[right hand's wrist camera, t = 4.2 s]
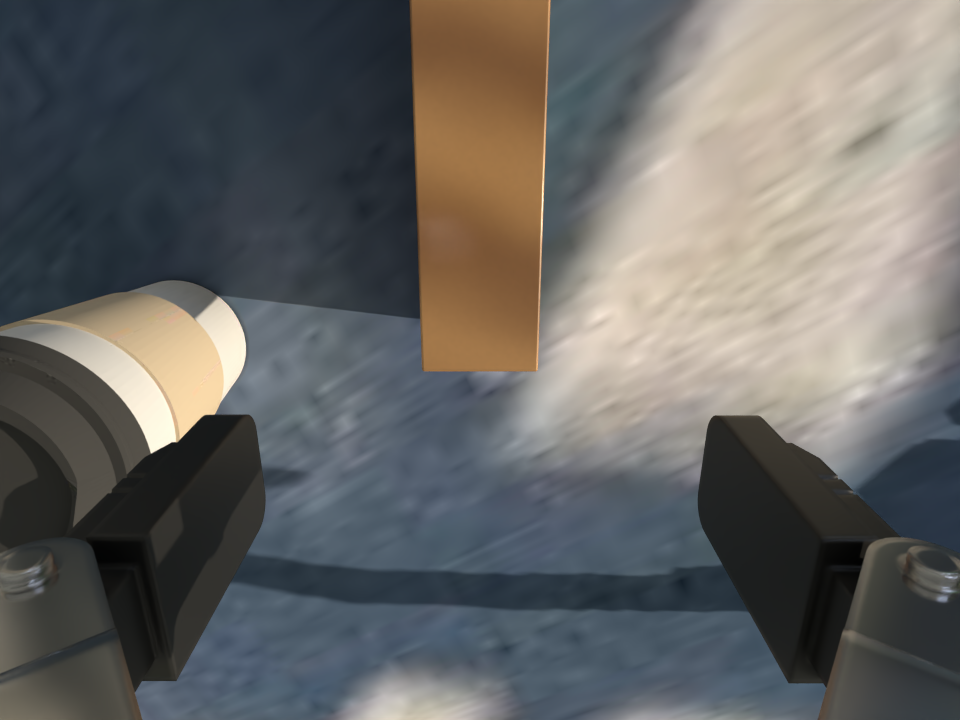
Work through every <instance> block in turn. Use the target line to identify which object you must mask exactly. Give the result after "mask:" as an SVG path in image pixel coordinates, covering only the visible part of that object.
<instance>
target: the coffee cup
mask: <svg viewBox="0 0 960 720" xmlns="http://www.w3.org/2000/svg"><path fill="white" fill-rule="evenodd" d="M245 356H246V343H245V337H244V333H243V330H242V327H241V325H240V323H239V321H238V319H237V317H236V315H235V314H234V312H233V311H232V310H231V308H230V307H229V306H228V305H227V304H226V303H225V302H224V301H223V300H222V299H221V298H220V297H218V296H217V295H216V294H214V293H213V292H211V291H209V290H208V289H206V288H204V287H202V286H199V285H197V284H194V283H190V282H185V281H177V280H170V281H161V282H157V283H154V284H151V285H147V286H144V287H141V288H138V289H135V290H131V291H128V292H120V293H113V294H109V295H105V296H102V297H98V298H95V299H92V300H88V301H85V302H82V303H78V304H75V305H71V306H68V307H65V308H61V309H58V310H54V311H51V312H48V313H44V314H41V315H38V316H34V317H31V318H27V319H24V320H21V321H17V322H14V323H11V324H7V325H4V326H2V327H0V553H2V552H5V551H7V550H9V549H12V548H14V547H17V546H20V545H23V544H26V543H30V542H33V541H37V540H42V539H48V538H57V537H64V536H65V535H66V534H67V533H68V532H69V531H70V530H71V529H72V528H73V527H74V526H75V525H76V524H77V523H78V522H79V521H80V520H81V519H82V518H83V517H84V516H85V515H86V514H87V513H88V512H89V511H90V510H91V509H92V508H93V507H94V506H95V505H96V504H97V503H98V502H99V501H100V500H101V499H102V498H103V497H104V496H105V495H106V494H108V493H112V489H113V488H114V487H115V486H116V485H117V484H118V483H119V482H120V481H121V480H122V479H123V478H127V474H128V473H129V472H130V471H131V470H132V469H133V468H134V467H135V466H136V465H137V464H138V463H139V462H140V461H141V460H142V459H143V458H144V457H146V456H148V455H149V454H151V453H153V452H155V451H157V450H159V449H160V448H162V447H164V446H166V445H168V444H170V443H171V442H178V441H179V440H180V439H181V438H182V437H183V436H184V435H185V434H186V433H187V432H188V431H189V430H190V429H191V428H192V427H193V425H194V424H195V423H196V422H197V421H198V420H199V419H200V418H201V417H202V416H204V415H214V414H215V413H216V411H217V409H218V407H219V404H220V402H221V401H222V399H223V398H224V397H225V395H226V394H227V392H228V391H229V390H230V388H231V387H232V385H233V384H234V383H235V381H236V380H237V378H238V377H239V375H240V373H241V371H242V369H243V366H244V362H245Z"/></svg>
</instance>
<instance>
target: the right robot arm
mask: <svg viewBox="0 0 960 720" xmlns="http://www.w3.org/2000/svg"><path fill="white" fill-rule="evenodd" d="M698 511H699V517H700V522H701V525H702V528H703V530H704V532H705V534H706V535H707V537H708V539H709V541H710V543H711V544H712V546H713V548H714V550H715V552H716V553H717V555H718V557H719V559H720V561H721V562H722V564H723V566H724V568H725V570H726V571H727V573H728V575H729V577H730V579H731V580H732V582H733V584H734V586H735V588H736V589H737V591H738V593H739V595H740V597H741V598H742V600H743V602H744V604H745V606H746V607H747V609H748V611H749V613H750V615H751V616H752V618H753V620H754V622H755V624H756V625H757V627H758V629H759V631H760V633H761V634H762V636H763V638H764V640H765V641H766V643H767V645H768V647H769V649H770V650H771V652H772V654H773V656H774V658H775V659H776V661H777V663H778V665H779V667H780V668H781V670H782V672H783V674H784V676H785V677H786V679H787V681H788V683H824V685H825V687H826V688H827V689H826V692H825V696H824V699H823V703H822V706H821V710H820V713H819V717H818V720H960V553H958V552H955V551H953V550H951V549H948V548H946V547H943V546H940V545H937V544H934V543H930V542H927V541H923V540H918V539H912V538H903V537H900V536H899V535H898V534H897V533H896V532H895V531H894V530H893V529H892V528H891V527H890V526H889V525H888V524H887V523H886V522H885V521H884V520H883V519H882V518H881V517H880V516H879V515H877V514H876V513H875V512H874V511H873V510H872V509H871V508H870V507H869V506H868V505H867V504H866V503H865V502H864V501H863V500H862V499H861V498H860V497H859V496H858V495H853V490H852V489H851V488H850V487H849V486H848V485H847V484H846V483H845V482H844V481H842V480H841V479H838V476H837V475H836V474H835V473H834V472H833V471H832V470H831V469H830V468H829V467H828V466H827V465H826V464H825V463H824V462H823V461H822V460H821V459H820V458H818V457H816V456H815V455H813V454H811V453H809V452H807V451H805V450H804V449H802V448H800V447H798V446H796V445H794V444H793V443H786V442H785V441H784V440H783V439H782V438H781V437H780V436H779V435H778V434H777V433H776V432H775V431H774V430H773V429H772V428H771V426H770V425H769V424H768V423H767V422H766V421H765V420H764V419H763V418H761V417H760V416H713V417H712V418H711V420H710V422H709V424H708V428H707V434H706V441H705V448H704V456H703V463H702V470H701V477H700V484H699V491H698ZM264 512H265V488H264V481H263V473H262V466H261V459H260V452H259V445H258V437H257V430H256V425H255V422H254V420H253V418H252V417H251V416H250V415H204V416H202V417H201V418H200V419H199V420H198V421H197V422H196V423H195V424H194V425H193V427H192V428H191V429H190V430H189V431H188V432H187V433H186V434H185V435H184V436H183V437H182V438H181V439H180V440H179V441H178V442H171V443H170V444H168V445H166V446H164V447H162V448H160V449H159V450H157V451H155V452H153V453H151V454H149V455H148V456H146V457H144V458H143V459H142V460H141V461H140V462H139V463H138V464H137V465H136V466H135V467H134V468H133V469H132V470H131V471H130V472H129V473H128V474H127V478H123V479H122V480H121V481H120V482H119V483H118V484H117V485H116V486H115V487H114V488H113V489H112V493H108V494H106V495H105V496H104V497H103V498H102V499H101V500H100V501H99V502H98V503H97V504H96V505H95V506H94V507H93V508H92V509H91V510H90V511H89V512H88V513H87V514H86V515H85V516H84V517H83V518H82V519H81V520H80V521H79V522H78V523H77V524H76V525H75V526H74V527H73V528H72V529H71V530H70V531H69V532H68V533H67V534H66V535H65V536H64V537H57V538H48V539H42V540H37V541H33V542H30V543H26V544H23V545H20V546H17V547H14V548H12V549H9V550H7V551H5V552H2V553H0V720H142V717H141V713H140V710H139V706H138V703H137V699H136V696H135V691H136V690H137V688H138V687H139V685H140V683H141V682H142V681H177V679H178V677H179V675H180V673H181V671H182V670H183V668H184V666H185V664H186V662H187V661H188V659H189V657H190V655H191V653H192V651H193V650H194V648H195V646H196V644H197V642H198V641H199V639H200V637H201V635H202V633H203V631H204V630H205V628H206V626H207V624H208V622H209V621H210V619H211V617H212V615H213V613H214V611H215V610H216V608H217V606H218V604H219V602H220V601H221V599H222V597H223V595H224V593H225V591H226V590H227V588H228V586H229V584H230V582H231V580H232V579H233V577H234V575H235V573H236V571H237V570H238V568H239V566H240V564H241V562H242V560H243V559H244V557H245V555H246V553H247V551H248V550H249V548H250V546H251V544H252V542H253V540H254V539H255V537H256V535H257V533H258V531H259V529H260V527H261V525H262V522H263V518H264Z"/></svg>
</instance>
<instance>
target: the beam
mask: <svg viewBox="0 0 960 720" xmlns="http://www.w3.org/2000/svg"><path fill="white" fill-rule="evenodd" d="M409 4H410V33H411V62H412V91H413V120H414V148H415V177H416V206H417V235H418V264H419V293H420V322H421V351H422V370H423V371H537V369H538V343H539V315H540V286H541V257H542V228H543V199H544V170H545V142H546V113H547V84H548V55H549V26H550V0H409Z"/></svg>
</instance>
